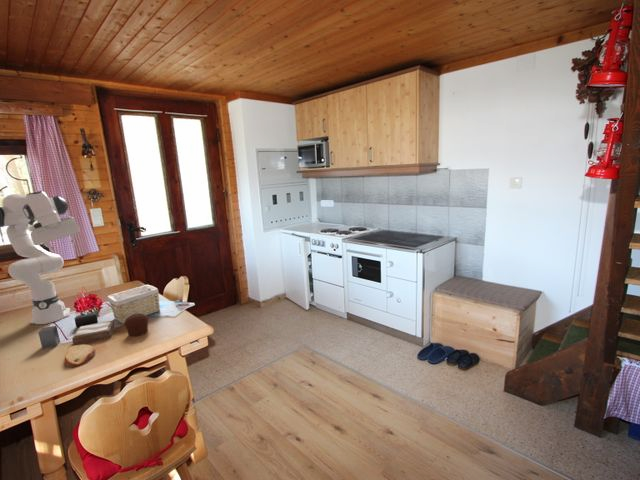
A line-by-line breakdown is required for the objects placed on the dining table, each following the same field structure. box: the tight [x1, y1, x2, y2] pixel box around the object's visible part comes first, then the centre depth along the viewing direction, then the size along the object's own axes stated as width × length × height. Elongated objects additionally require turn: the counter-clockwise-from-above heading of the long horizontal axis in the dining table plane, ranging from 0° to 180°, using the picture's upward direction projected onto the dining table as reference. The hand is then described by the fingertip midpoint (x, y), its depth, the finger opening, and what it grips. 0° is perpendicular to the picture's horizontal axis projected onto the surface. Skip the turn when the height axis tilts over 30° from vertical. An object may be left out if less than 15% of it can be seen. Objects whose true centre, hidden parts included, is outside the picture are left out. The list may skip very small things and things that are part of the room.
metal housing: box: [37, 325, 61, 350], centre depth 169 cm, size 5×6×9 cm
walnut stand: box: [71, 320, 116, 346], centre depth 176 cm, size 14×16×5 cm
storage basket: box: [107, 284, 161, 325], centre depth 200 cm, size 24×16×15 cm
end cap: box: [74, 311, 99, 329], centre depth 190 cm, size 10×7×7 cm
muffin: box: [123, 313, 150, 338], centre depth 176 cm, size 12×11×10 cm
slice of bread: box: [64, 343, 96, 368], centre depth 156 cm, size 18×18×4 cm
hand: (63, 246), depth 173 cm, fingers open, 8 cm apart
